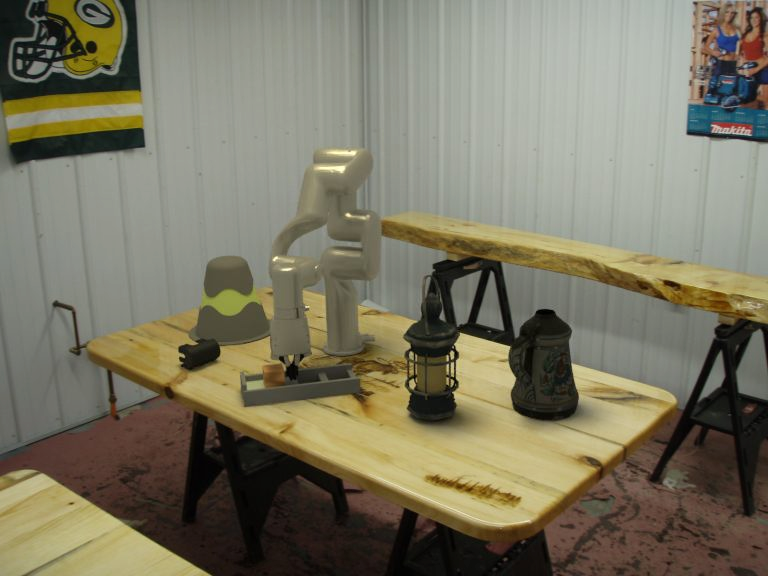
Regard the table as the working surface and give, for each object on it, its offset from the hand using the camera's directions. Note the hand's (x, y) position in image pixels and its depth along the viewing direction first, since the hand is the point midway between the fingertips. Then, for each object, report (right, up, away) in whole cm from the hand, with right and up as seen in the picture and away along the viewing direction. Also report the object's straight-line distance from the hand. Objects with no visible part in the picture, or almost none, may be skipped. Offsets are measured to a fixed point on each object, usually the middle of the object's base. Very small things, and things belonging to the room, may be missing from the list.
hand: (292, 378), depth 204 cm
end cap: (-29, +1, +21) cm, 36 cm away
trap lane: (+2, -4, +2) cm, 4 cm away
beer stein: (+63, -6, -11) cm, 64 cm away
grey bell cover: (-25, +10, +49) cm, 56 cm away
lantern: (+36, -7, -13) cm, 39 cm away
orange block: (-5, -2, -1) cm, 5 cm away
